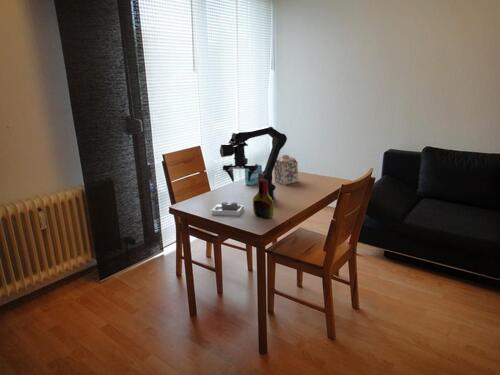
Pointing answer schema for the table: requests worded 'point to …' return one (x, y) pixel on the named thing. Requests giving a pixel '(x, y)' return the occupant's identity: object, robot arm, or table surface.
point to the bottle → (263, 201)
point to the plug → (228, 206)
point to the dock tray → (227, 211)
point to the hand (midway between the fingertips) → (241, 182)
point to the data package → (253, 176)
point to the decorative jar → (286, 170)
